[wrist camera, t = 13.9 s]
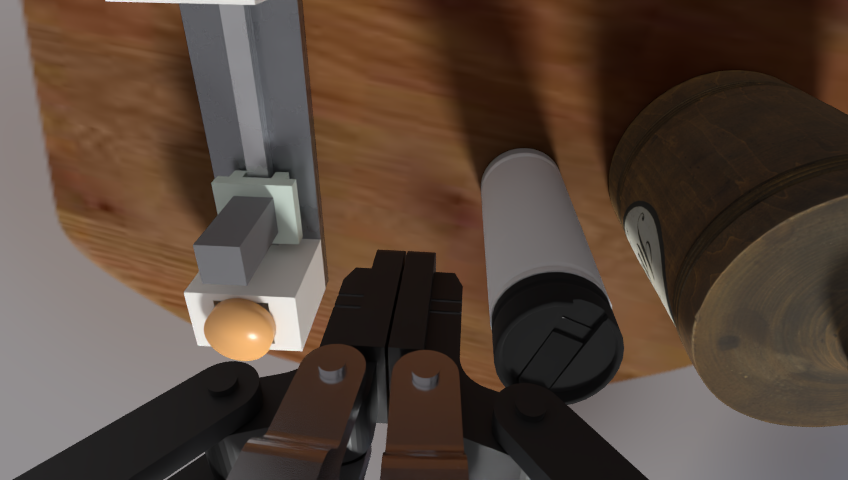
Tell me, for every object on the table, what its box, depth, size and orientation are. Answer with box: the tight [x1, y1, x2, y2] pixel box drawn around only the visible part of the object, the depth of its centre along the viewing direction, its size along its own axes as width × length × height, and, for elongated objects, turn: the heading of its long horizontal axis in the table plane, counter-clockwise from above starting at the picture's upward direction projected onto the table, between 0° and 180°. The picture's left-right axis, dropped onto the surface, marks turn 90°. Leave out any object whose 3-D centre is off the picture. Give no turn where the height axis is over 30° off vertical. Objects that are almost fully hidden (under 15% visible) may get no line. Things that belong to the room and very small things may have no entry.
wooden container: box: [609, 70, 848, 427], centre depth 31 cm, size 15×15×22 cm
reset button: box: [204, 298, 276, 361], centre depth 41 cm, size 5×5×7 cm
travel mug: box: [481, 148, 624, 405], centre depth 34 cm, size 6×7×20 cm
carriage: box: [193, 170, 303, 286], centre depth 39 cm, size 5×6×9 cm
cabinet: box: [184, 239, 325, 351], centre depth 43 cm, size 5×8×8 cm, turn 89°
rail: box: [179, 0, 328, 288], centre depth 40 cm, size 28×8×2 cm, turn 179°
